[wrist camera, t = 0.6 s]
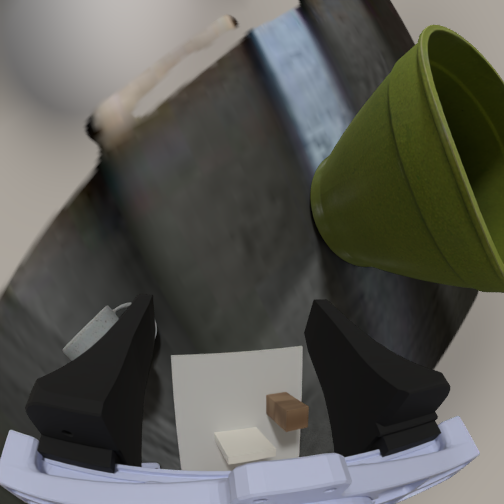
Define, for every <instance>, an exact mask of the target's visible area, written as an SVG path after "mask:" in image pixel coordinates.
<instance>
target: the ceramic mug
mask: <svg viewBox="0 0 504 504" xmlns="http://www.w3.org/2000/svg"><path fill="white" fill-rule="evenodd" d="M130 305H131V303H125V304H122V305H120V306H118V307H117V308H115V309H114V310H112V309H111V308H110V307H109V306H106V307H105V308H103V309H102V310H101V311H100V312H99V313H98V314H97V315H96V316H95V317H94V318H93V319H92V320H91V321H90V322H89V323H88V324H87V325H86V326H85V327H84V328H83V329H82V330H81V331H80V332H79V333H78V334H77V335H76V336H75V337H74V338H73V339H72V340H71V341H70V342H69V343H68V344H67V345H66V346H65V347H64V348H63V352H64V353H65V354H66V355H67V356H68V357H69V358H70V359H71V360H72V361H73V360H74V359H76V358H77V357H79V356H80V355H81V354H83V353H84V352H85V351H87V350H88V349H89V348H90V347H92V346H93V345H94V344H95V343H96V342H97V341H98V340H99V339H100V338H102V337H103V336H104V335H105V334H106V332H107V331H108V330H109V329H110V328H111V327H112V326H113V325H114V324H115V323H116V322H117V321H118V319H119V318H118V317H117V316H116V312H117V311H119V310H121V309H123V308H126V307H129V306H130ZM155 327H156V332H155V337H156V334H157V325H156V321H155Z"/></svg>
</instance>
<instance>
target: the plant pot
mask: <svg viewBox="0 0 504 504" xmlns="http://www.w3.org/2000/svg"><path fill="white" fill-rule="evenodd" d="M310 199H311V208H312V213H313V217H314V220H315V223H316V226H317V228H318V230H319V233H320V234H321V236H322V238H323V239H324V241H325V242H326V244H327V245H328V246H329V248H330V249H331V250H332V251H333V252H334V253H335V254H336V255H337V256H339V257H340V258H341V259H343V260H344V261H346V262H348V263H351V264H353V265H356V266H361V267H375V268H378V269H381V270H384V271H387V272H391V273H395V274H398V275H402V276H407V277H411V278H415V279H419V280H424V281H429V282H434V283H440V284H446V285H452V286H459V287H467V288H475V289H477V290H479V291H482V292H502V293H504V82H503V80H502V79H501V77H500V76H499V75H498V73H497V72H496V71H495V69H494V68H493V67H492V66H491V64H490V63H489V62H488V61H487V60H486V59H485V58H484V56H483V55H482V54H481V53H480V52H479V51H478V50H477V49H476V48H475V47H474V46H473V45H471V44H470V43H469V42H468V41H467V40H465V39H464V38H463V37H461V36H460V35H458V34H457V33H456V32H454V31H452V30H450V29H448V28H446V27H443V26H440V25H430V26H428V27H427V28H425V29H424V30H423V31H422V33H421V34H420V36H419V40H418V43H417V44H416V45H415V46H414V47H413V48H411V49H410V50H409V51H408V52H407V53H406V54H405V55H404V56H403V57H401V58H400V59H399V60H398V61H397V62H396V64H395V65H394V67H393V69H392V71H391V73H390V74H389V75H388V76H387V77H386V78H385V80H384V81H383V82H382V83H381V84H380V86H379V87H378V88H377V89H376V91H375V92H374V93H373V94H372V96H371V97H370V98H369V99H368V101H367V102H366V103H365V104H364V106H363V107H362V108H361V109H360V111H359V112H358V113H357V115H356V116H355V118H354V119H353V120H352V122H351V123H350V125H349V126H348V128H347V129H346V131H345V132H344V133H343V135H342V136H341V138H340V140H339V141H338V143H337V144H336V146H335V147H334V149H333V151H332V152H331V154H330V155H329V156H328V157H327V158H326V159H324V160H323V162H322V163H321V164H320V165H319V167H318V168H317V170H316V172H315V175H314V177H313V180H312V185H311V196H310Z"/></svg>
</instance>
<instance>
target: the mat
mask: <svg viewBox="0 0 504 504" xmlns="http://www.w3.org/2000/svg"><path fill="white" fill-rule="evenodd" d="M171 365H172V381H173V394H174V407H175V418H176V428H177V437H178V446H179V454H180V462H181V470H185V471H232V470H234V469H235V468H236V467H238V466H241V465H244V464H247V463H253V462H259V461H270V460H281V459H290V458H298V457H299V446H300V429H298V430H293V431H288V432H285V431H284V430H283V429H282V428H281V427H280V426H279V425H278V424H277V423H276V422H274V421H273V420H272V419H271V418H270V417H269V416H268V415H267V414H266V395H269V394H275V393H282V392H287V393H289V394H290V395H292V396H293V397H295V398H296V399H298V400H299V401H301V397H302V346H296V347H287V348H278V349H268V350H257V351H245V352H231V353H215V354H194V355H171ZM252 427H257V428H258V429H259V431H260V432H261V433H262V434H263V435H264V436H265V437H266V438H267V439H268V440H269V441H270V443H271V444H272V445H273V446H274V447H275V448H276V456H274V457H269V458H264V459H259V460H254V461H248V462H242V463H236V464H229V465H228V463H227V461H226V460H225V458H224V456H223V454H222V452H221V450H220V449H219V447H218V445H217V443H216V441H215V437H214V432H222V431H231V430H238V429H245V428H252Z"/></svg>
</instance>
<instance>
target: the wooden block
mask: <svg viewBox="0 0 504 504" xmlns="http://www.w3.org/2000/svg"><path fill="white" fill-rule="evenodd" d="M308 408H309V407H308V406H307V405H305V404H304V403H302V402H301V401H299V400H298V399H296V398H295V397H293V396H292V395H290V394H289V393H287V392H282V393H275V394H269V395H266V414H267V415H268V416H269V417H270V418H271V419H272V420H273V421H274V422H276V423H277V424H278V425H279V426H280V427H281V428H282V429H283V430H284V431H285V432H288V431H293V430H298V429H302V428H306V427H308Z"/></svg>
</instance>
